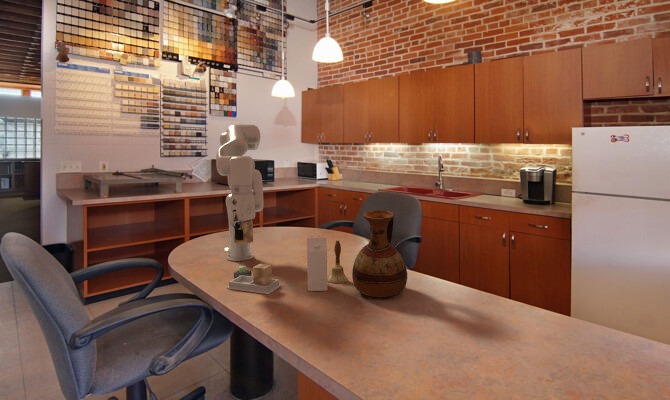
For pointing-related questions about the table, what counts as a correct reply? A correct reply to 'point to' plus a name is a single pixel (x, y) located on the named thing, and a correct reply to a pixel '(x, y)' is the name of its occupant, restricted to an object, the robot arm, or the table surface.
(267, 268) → the block
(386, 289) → the ceramic pitcher
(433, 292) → the table surface
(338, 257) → the hand bell
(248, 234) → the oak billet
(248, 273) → the console
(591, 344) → the table surface
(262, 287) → the grey divided tray
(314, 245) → the milk carton
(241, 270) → the button
